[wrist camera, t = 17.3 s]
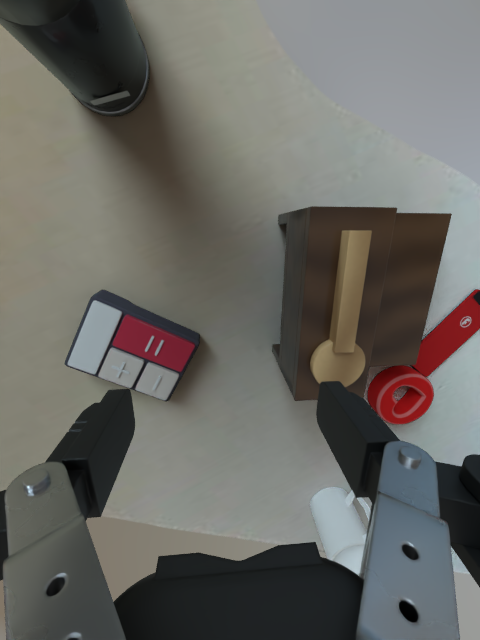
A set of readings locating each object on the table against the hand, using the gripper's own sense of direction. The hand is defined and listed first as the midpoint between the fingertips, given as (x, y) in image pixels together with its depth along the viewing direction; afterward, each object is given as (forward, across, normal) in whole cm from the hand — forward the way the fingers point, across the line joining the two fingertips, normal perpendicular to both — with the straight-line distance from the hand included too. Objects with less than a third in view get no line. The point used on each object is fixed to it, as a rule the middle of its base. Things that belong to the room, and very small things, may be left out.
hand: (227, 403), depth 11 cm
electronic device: (+28, -37, +9) cm, 47 cm away
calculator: (+28, +12, +9) cm, 32 cm away
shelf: (+28, -18, +1) cm, 33 cm away
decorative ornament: (+28, -30, +19) cm, 45 cm away
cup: (+28, -22, +43) cm, 56 cm away
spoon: (+15, -12, +2) cm, 19 cm away
